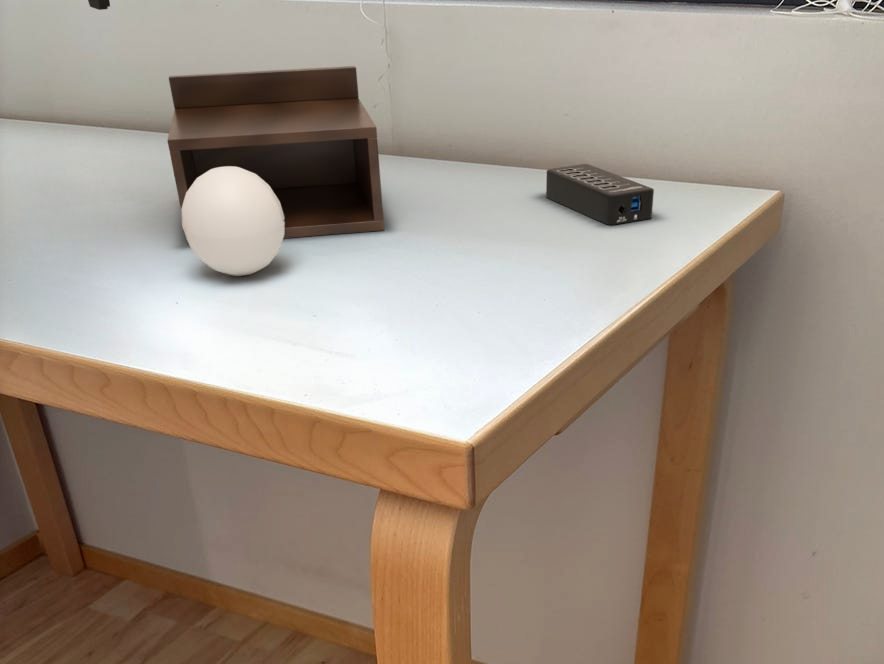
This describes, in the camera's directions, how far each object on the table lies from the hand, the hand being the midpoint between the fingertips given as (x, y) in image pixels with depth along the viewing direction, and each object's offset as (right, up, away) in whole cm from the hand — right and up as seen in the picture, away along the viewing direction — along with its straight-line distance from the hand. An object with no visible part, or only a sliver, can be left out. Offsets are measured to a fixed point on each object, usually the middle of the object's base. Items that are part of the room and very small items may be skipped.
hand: (172, 2), depth 66 cm
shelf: (+3, -5, +20) cm, 21 cm away
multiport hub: (+31, -5, +21) cm, 37 cm away
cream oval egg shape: (+2, -15, +9) cm, 17 cm away
